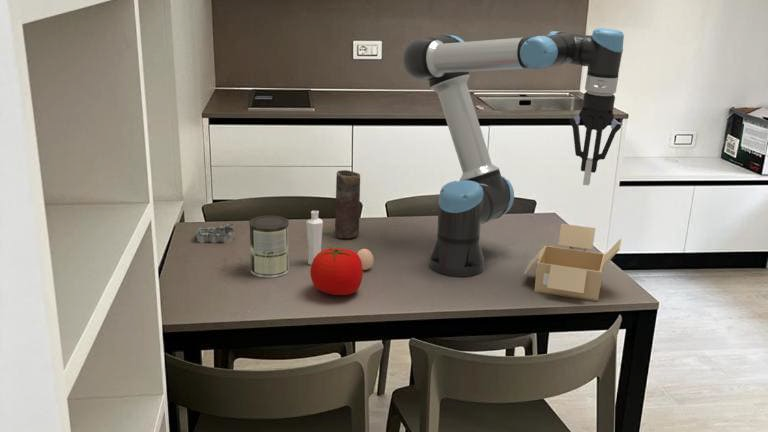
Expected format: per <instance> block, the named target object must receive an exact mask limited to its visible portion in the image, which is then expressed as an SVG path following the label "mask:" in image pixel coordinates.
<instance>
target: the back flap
mask: <svg viewBox="0 0 768 432" xmlns="http://www.w3.org/2000/svg"><path fill="white" fill-rule="evenodd" d="M595 232H596V227H589V226H580V225H573V224H567V223H561V225H560V231H559V236H558V237H559V238H558V242H557V245H558V246H561V247H562V246H563V247H568V248H570V247H576V248H584V249H587V250H592V251H593V248H594V241H595V235H596V234H595Z"/></svg>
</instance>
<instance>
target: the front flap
mask: <svg viewBox="0 0 768 432" xmlns="http://www.w3.org/2000/svg"><path fill="white" fill-rule="evenodd" d="M586 274H587V270H585V269H578V268H572V267H565V266H558V265H551V267H550V273H549V279H548V286H547V288H552V289H558V290H565V291H571V292H578V293H584V287H585V281H586Z"/></svg>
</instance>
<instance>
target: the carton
mask: <svg viewBox="0 0 768 432" xmlns="http://www.w3.org/2000/svg"><path fill="white" fill-rule="evenodd" d="M605 254H606V253H603V252H595V251H582V250H574V249H570V248H566V247H561V246H559V247H558V246H551V245H544V246H543V251H542V253H541V255H540V258H539V259H538V261H537V262H536V272H535V281H534V282H535V283H534V290H533V291H534V293H540V294H546V295H553V296H561V297H565V298H572V299H573V298H574V299H578V300H579V299H580V300H584V299H585V300H586V301H592V302H597V303H598V301H599V296H600V292H601V287H602V283H603V277H604V268H605V266H603V261H604V257H605ZM551 265H558V266H565V267H572V268H578V269H585V270H587V274H586V281H585V287H584V293H578V292H571V291H565V290H558V289H552V288H547V286H548V279H549V273H550V267H551ZM585 300H584V301H585Z"/></svg>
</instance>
